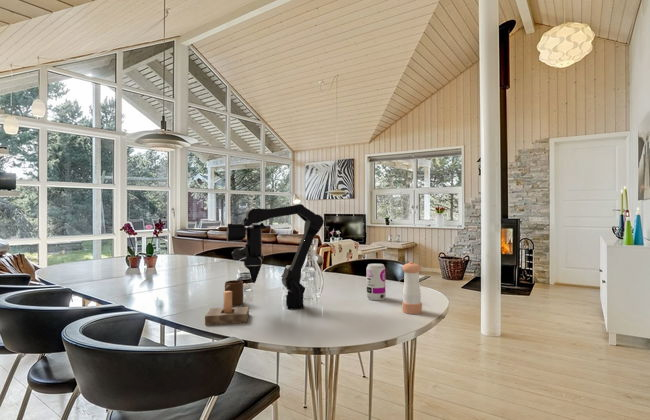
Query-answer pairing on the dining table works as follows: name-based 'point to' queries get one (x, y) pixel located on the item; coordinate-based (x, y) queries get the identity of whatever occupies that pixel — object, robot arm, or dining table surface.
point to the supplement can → (376, 282)
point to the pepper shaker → (411, 289)
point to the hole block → (227, 316)
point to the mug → (235, 291)
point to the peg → (227, 301)
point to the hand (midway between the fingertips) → (254, 280)
